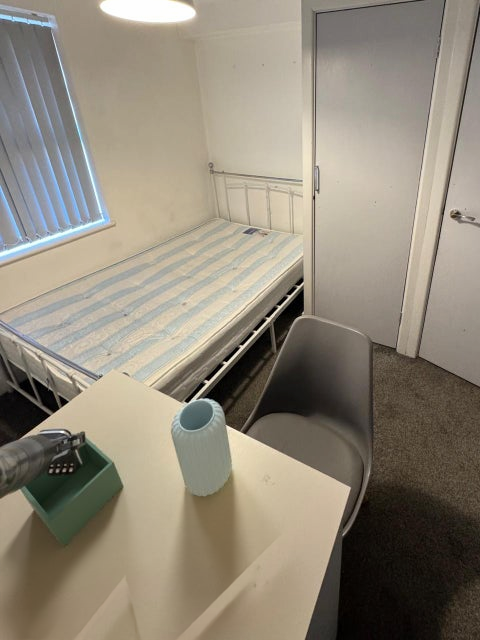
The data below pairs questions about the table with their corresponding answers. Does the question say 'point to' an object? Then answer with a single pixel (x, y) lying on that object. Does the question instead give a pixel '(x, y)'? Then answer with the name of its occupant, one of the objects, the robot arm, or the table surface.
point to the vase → (202, 446)
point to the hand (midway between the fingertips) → (56, 445)
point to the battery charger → (66, 462)
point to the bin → (74, 494)
